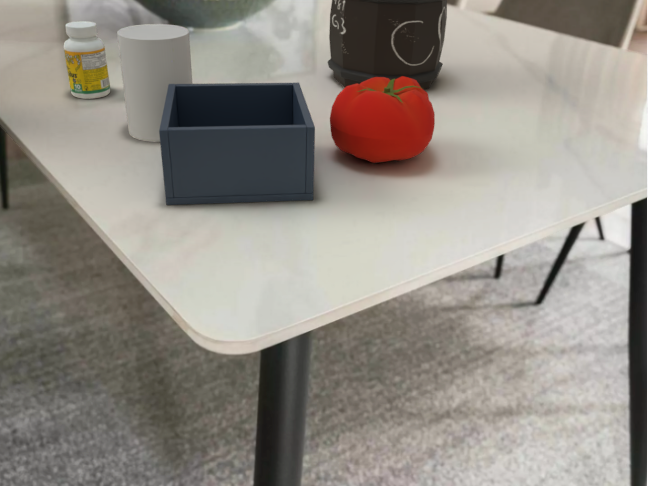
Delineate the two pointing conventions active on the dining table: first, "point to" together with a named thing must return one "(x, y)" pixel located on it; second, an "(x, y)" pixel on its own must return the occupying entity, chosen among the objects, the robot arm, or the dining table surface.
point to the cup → (151, 73)
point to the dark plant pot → (387, 39)
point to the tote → (236, 143)
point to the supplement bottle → (86, 61)
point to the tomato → (382, 119)
